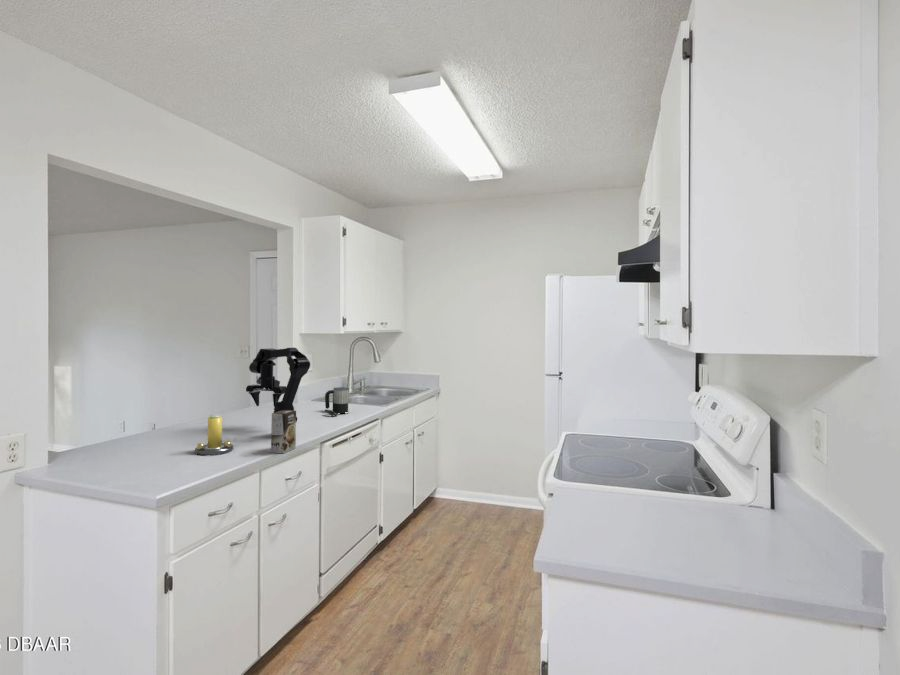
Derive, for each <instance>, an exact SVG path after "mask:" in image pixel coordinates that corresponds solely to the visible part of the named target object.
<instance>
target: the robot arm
mask: <svg viewBox="0 0 900 675" xmlns="http://www.w3.org/2000/svg"><path fill="white" fill-rule="evenodd" d="M283 357H286V363H287V365H288V366H289V368H288V369H289V373H290V376H289V378H288V381H287V384H286V385H280V383H281V381H280V380H278V379H276V376H275V375H274V367H275V366H276V365H277V364H276V363H275V360H277V359H278V358H283ZM248 368H249V371H250V373H253V374H260V375H259V376H258V380H259V382H260V383H259V384H248V385H247V386H246V387H245V392H248V394H250V396H251V398H252V399H253V401H254V403H255V405H256V407H259V406H260V393H261V392H262V391H265V392H266V391H267V392H273V393H272V401H273V402H272V404H273V413H275V412H278V411H282V410H295V406H294V400H295V398H296V395H297V392H298V389H299V386H300V384H301V380H302V379H303V377H304V376H305V375H307V373H308V371H309V369H310V368H311V361H310V360H309V359H308V357H307V356H306V355H305V354H304V353H302V352H301V351H299V350H298V348H296V347H286V348H278V349H276V348H260V349H259V351H258V352H257V354H256V356H255V358H253V360H252V362H251V363H250V364H249V366H248ZM282 395H283V397H282ZM281 397H282V399H281V401H279V400H280V398H281ZM297 422H298V417H297V415H296V423H297Z"/></svg>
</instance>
